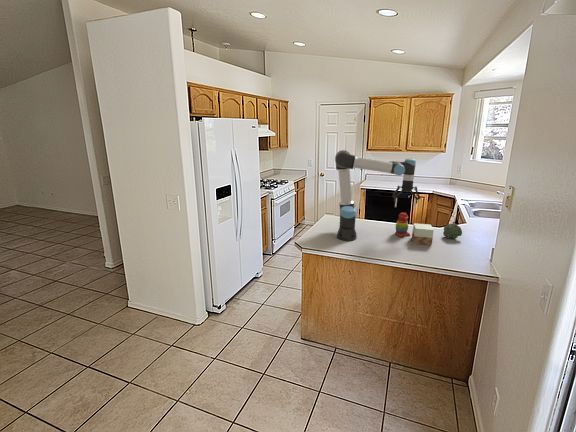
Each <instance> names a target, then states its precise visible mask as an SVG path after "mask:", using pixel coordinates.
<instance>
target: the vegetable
mask: <svg viewBox="0 0 576 432" xmlns="http://www.w3.org/2000/svg"><path fill="white" fill-rule="evenodd" d="M462 235H463V230H462V228H461V226H459V224H457V223H448V224H447V225H445V226H443V236H445V238H447V239H451V240H453V239H457V238H458V237H461V236H462Z"/></svg>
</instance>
